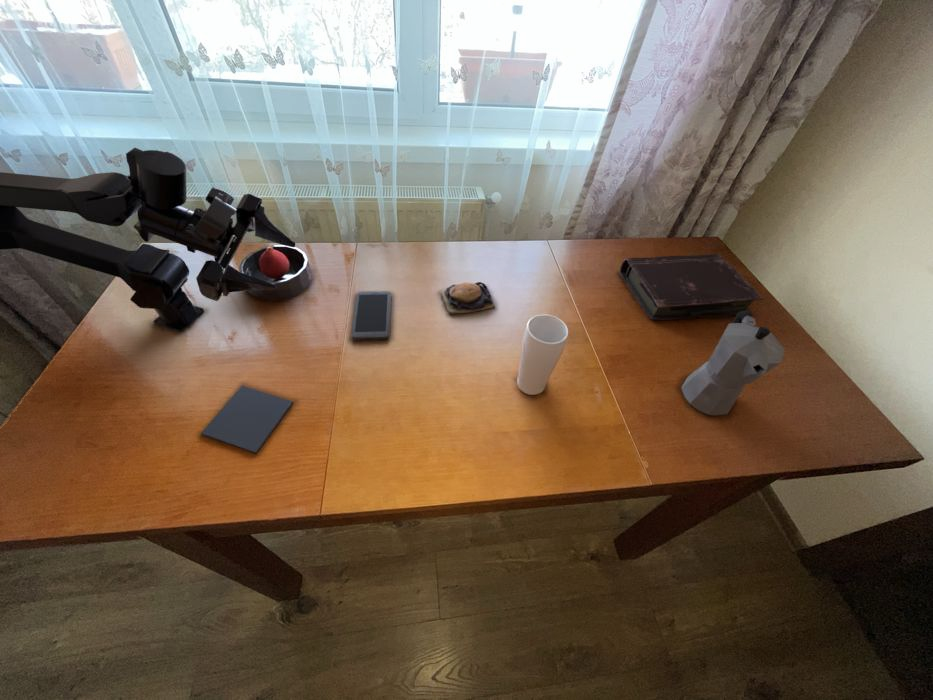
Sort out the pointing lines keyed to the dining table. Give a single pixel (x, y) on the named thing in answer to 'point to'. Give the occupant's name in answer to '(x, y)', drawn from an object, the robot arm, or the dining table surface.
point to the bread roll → (467, 298)
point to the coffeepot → (733, 365)
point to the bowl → (288, 284)
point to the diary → (687, 286)
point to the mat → (248, 419)
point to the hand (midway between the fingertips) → (285, 265)
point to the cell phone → (371, 315)
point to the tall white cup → (540, 352)
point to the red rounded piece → (273, 263)
